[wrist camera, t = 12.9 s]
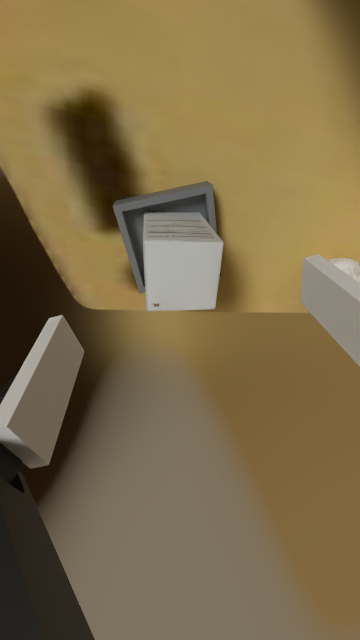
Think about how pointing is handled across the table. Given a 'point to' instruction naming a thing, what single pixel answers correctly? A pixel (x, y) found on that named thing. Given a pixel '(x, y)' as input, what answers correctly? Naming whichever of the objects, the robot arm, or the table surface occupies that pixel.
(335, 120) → the table surface
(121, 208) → the charcoal tray
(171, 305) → the supplement box
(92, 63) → the table surface
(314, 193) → the table surface
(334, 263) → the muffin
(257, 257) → the table surface
